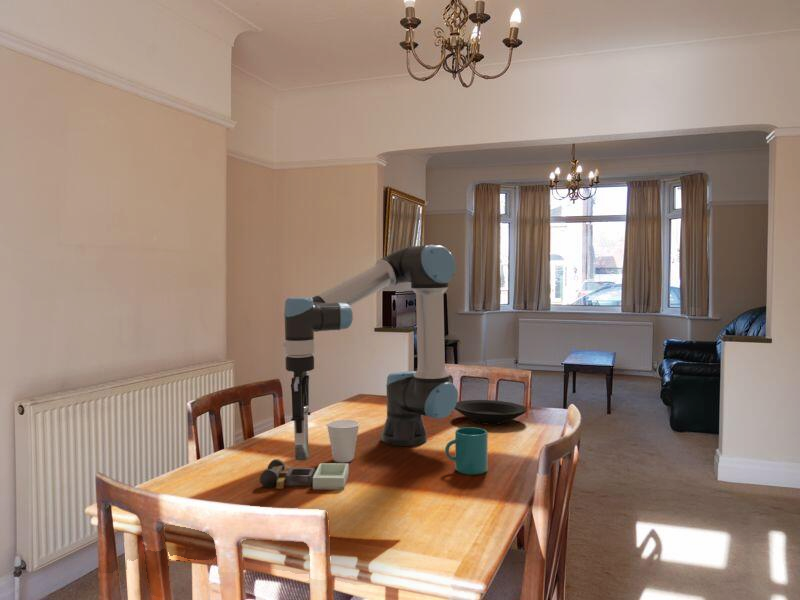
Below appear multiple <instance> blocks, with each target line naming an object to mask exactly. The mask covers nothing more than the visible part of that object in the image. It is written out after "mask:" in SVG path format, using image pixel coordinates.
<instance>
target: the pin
mask: <svg viewBox="0 0 800 600" xmlns="http://www.w3.org/2000/svg"><path fill="white" fill-rule="evenodd" d="M308 412H310V405H309V406H308V405H304V420H305V445H295V444H294V459H295V460H296V461H306V460H308V459H309V458H310V455H309V453H310V452H309V422H308V421H309V415H308Z"/></svg>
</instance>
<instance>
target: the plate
mask: <svg viewBox="0 0 800 600" xmlns="http://www.w3.org/2000/svg"><path fill="white" fill-rule="evenodd" d="M453 410H455V411H457V412H458V413H460V414H462V416H464V417H467V418H468V419H470V420H472V421H474V422H475V423H478V424H482V425H487V426H488V425H493V426H494V425H500V424H502V423H506V422H508V421H511V420H514V419H516V418H517V419H518V417H520V416H522V415H524V414H526V413H527V408H526V407H525V406H524V405H522V404H519V403H513V402H509V401H502V400H494V399H493V400H492V399H490V400H489V399H469V400H461V401H457V404H456V406H455V408H454V409H453Z"/></svg>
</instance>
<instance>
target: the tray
mask: <svg viewBox="0 0 800 600" xmlns="http://www.w3.org/2000/svg"><path fill="white" fill-rule="evenodd" d="M349 468H350V467H349V463H340V462H333V463H330V462H329V463H327V462H326V463H323V462H321V463H319V464H318V466H317V469H316V470H315V474H314V476H313V482H312V490H338V491H339V490H341V491H342V490H344V489H345V486H346V484H347V480H348V478H349V473H350V471H349Z"/></svg>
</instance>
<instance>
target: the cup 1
mask: <svg viewBox="0 0 800 600" xmlns="http://www.w3.org/2000/svg"><path fill="white" fill-rule="evenodd" d="M325 425H326V426H327V431H328V436H329V437H328V438H329V442H330V443H329V444H330V449H331V454H332V455H331V457H332V460H333V461H334V463H343V464H346V463H350V462H352V461H353V460H354V457H355V453H356V446H357V445H356V444H357V437H358V433H359V427H360V421H357V420H352V419H336V420H335V419H334V420H331V421H329V422H327V423H326V424H325Z"/></svg>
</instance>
